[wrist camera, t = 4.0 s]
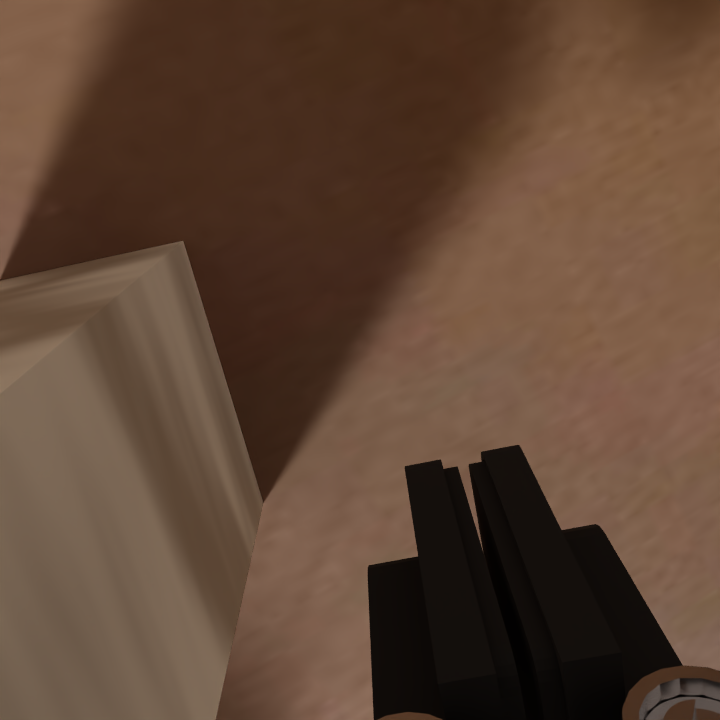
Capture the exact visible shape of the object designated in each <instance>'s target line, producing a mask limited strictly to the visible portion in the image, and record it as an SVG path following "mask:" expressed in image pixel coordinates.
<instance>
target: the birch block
mask: <svg viewBox="0 0 720 720" xmlns="http://www.w3.org/2000/svg"><path fill="white" fill-rule="evenodd" d="M262 507H263V500H262V497H261V494H260V490H259V487H258V484H257V480H256V477H255V474H254V471H253V467H252V464H251V461H250V458H249V454H248V451H247V448H246V444H245V441H244V438H243V435H242V431H241V428H240V425H239V422H238V418H237V415H236V412H235V408H234V405H233V402H232V399H231V395H230V392H229V389H228V386H227V382H226V379H225V376H224V372H223V369H222V366H221V363H220V359H219V356H218V353H217V350H216V346H215V343H214V340H213V336H212V333H211V330H210V327H209V323H208V320H207V317H206V314H205V310H204V307H203V304H202V300H201V297H200V294H199V291H198V287H197V284H196V281H195V278H194V274H193V271H192V268H191V264H190V261H189V258H188V255H187V251H186V248H185V245H184V242H183V241H179V242H175V243H170V244H166V245H161V246H156V247H152V248H147V249H143V250H138V251H134V252H129V253H124V254H120V255H115V256H111V257H106V258H102V259H97V260H92V261H88V262H83V263H79V264H74V265H69V266H65V267H60V268H56V269H51V270H47V271H42V272H37V273H33V274H28V275H24V276H19V277H15V278H10V279H5V280H1V281H0V720H216V716H217V711H218V707H219V702H220V698H221V693H222V689H223V684H224V680H225V675H226V671H227V666H228V661H229V657H230V652H231V648H232V643H233V639H234V634H235V630H236V625H237V620H238V616H239V611H240V607H241V602H242V598H243V593H244V589H245V584H246V580H247V575H248V570H249V566H250V561H251V557H252V552H253V548H254V543H255V539H256V534H257V530H258V525H259V520H260V516H261V511H262Z"/></svg>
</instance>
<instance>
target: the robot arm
mask: <svg viewBox="0 0 720 720" xmlns="http://www.w3.org/2000/svg"><path fill="white" fill-rule="evenodd" d="M481 460H482V462H478V463H473V464H469V471H470V477H471V483H472V489H473V495H474V501H475V506H476V512H477V518H478V524H479V530H480V536H481V541H482V547H483V550H482V547H481V544H480V540H479V537H478V534H477V530H476V527H475V524H474V520H473V517H472V513H471V510H470V507H469V503H468V500H467V497H466V493H465V490H464V487H463V483H462V480H461V476H460V473H459V470H458V467H452V468H447V469H443V466H442V462H441V460H436V461H430V462H425V463H420V464H414V465H409V466H405V473H406V479H407V486H408V492H409V499H410V505H411V512H412V518H413V525H414V531H415V538H416V544H417V551H418V557H412V558H407V559H401V560H396V561H390V562H385V563H379V564H374V565H369V566H368V593H369V616H370V640H371V664H372V687H373V711H374V720H720V671H718V670H715V669H712V668H708V667H697V666H683V665H682V663H681V662H680V660H679V658H678V657H677V655H676V653H675V652H674V650H673V648H672V647H671V645H670V643H669V641H668V640H667V638H666V636H665V635H664V633H663V631H662V630H661V628H660V626H659V624H658V623H657V621H656V619H655V618H654V616H653V614H652V613H651V611H650V609H649V607H648V606H647V604H646V602H645V601H644V599H643V597H642V596H641V594H640V592H639V590H638V589H637V587H636V585H635V584H634V582H633V580H632V579H631V577H630V575H629V573H628V572H627V570H626V568H625V567H624V565H623V563H622V562H621V560H620V558H619V557H618V555H617V553H616V551H615V550H614V548H613V546H612V545H611V543H610V541H609V540H608V538H607V536H606V534H605V533H604V531H603V530H602V529H601V527H600V526H598V525H596V524H594V525H588V526H583V527H577V528H572V529H566V530H561V528H560V526H559V524H558V522H557V520H556V518H555V516H554V514H553V512H552V510H551V508H550V506H549V504H548V502H547V500H546V498H545V496H544V494H543V492H542V490H541V488H540V486H539V484H538V482H537V480H536V478H535V476H534V474H533V472H532V470H531V468H530V465H529V463H528V461H527V459H526V457H525V455H524V453H523V451H522V449H521V447H520V446H519V445H515V446H509V447H504V448H499V449H493V450H488V451H483V452H481ZM483 553H484V554H483Z"/></svg>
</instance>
